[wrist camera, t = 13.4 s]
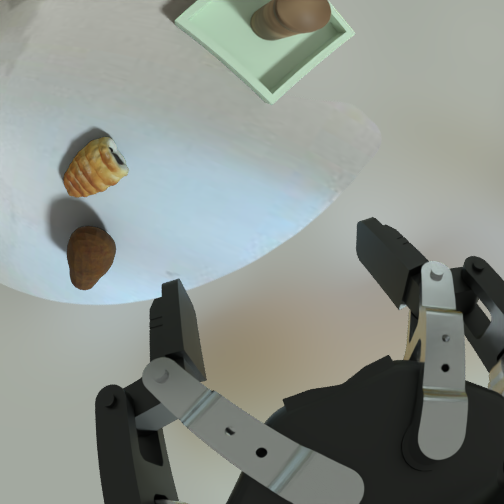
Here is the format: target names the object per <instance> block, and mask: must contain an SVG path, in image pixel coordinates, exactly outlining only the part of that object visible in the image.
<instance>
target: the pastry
mask: <svg viewBox="0 0 504 504" xmlns="http://www.w3.org/2000/svg"><path fill="white" fill-rule="evenodd" d="M128 171H129V169H128V167H127V165H126V161H125V159H124V157H123V156H122V155H121V153H120V152H119V151H118V150H117V146H116V144H115V142H114V141H113V140H112V139H111V138H109V137H102V138H99V139H96V140H92V141H90V142H89V143H88V144H87V145H86V146H85V147H84V148H83V149H82V150H81V151H79V152H78V154H77V155H76V156H75V158H74V159H73V161H72V163H71V164H70V166H69V168H68V169H67V171H66V172H65V174H64V179H63V180H64V185H65V188H66V189H67V192H68V194H69V195H70V196H74V197H82V196H83V197H87V196H89V195H93V194H96V193H98V192H103V191H105V190H106V189H107V188H108V187H110V186H113V185H115V184H117V183H118V182H119V180H120V179H121V178H123V177H124V176H127V174H128Z"/></svg>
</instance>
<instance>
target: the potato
mask: <svg viewBox="0 0 504 504" xmlns="http://www.w3.org/2000/svg"><path fill="white" fill-rule="evenodd" d="M115 253H116V245H115V242H114V240H113V239H112V237H111V236H110V235H109V234H108V233H106V232H105V231H103V230H102V229H100V228H98V227H92V226H85V227H80V228H78V229H76V230H75V231H74V232H73V233H72V235H71V237H70V239H69V242H68V246H67V260H68V264H69V268H70V278H71V282H72V284H73V285H74V286H75V287H76V288H78V289H80V290H88V289H91V288H92V287H93V286H94V285H95V284H96V283H97V281H98V280H99V279H100V278H101V277H102V276H103V275H104V274H106V272H107V271H108V270H109V268H110V267H111V265H112V263H113V260H114V257H115Z"/></svg>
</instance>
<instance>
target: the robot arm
mask: <svg viewBox="0 0 504 504" xmlns="http://www.w3.org/2000/svg"><path fill="white" fill-rule="evenodd" d="M356 251H357V255H358V258H359V260H360V261H361V263H362V264H363V265H364V266H365V268H366V269H367V270H368V271H369V272H370V274H371V275H372V276H373V278H374V279H375V280H376V281H377V283H378V284H379V285H380V286H381V288H382V289H383V290H384V291H385V293H386V294H387V295H388V296H389V298H390V299H391V300H392V302H393V303H394V304H395V306H396V307H397V308H398V309H399V310H400V309H402V308H404V307H406V306H408V307H409V309H410V310H409V315H408V330H407V344H406V351H405V355H404V358H403V360H395V361H392V359H391V357H390V356H389V355H387V356H385V357H383V358H381V359H379V360H377V361H375V362H373V363H371V364H369V365H367V366H365V367H364V368H362V369H361V370H360V371H359V372H357V373H356V374H355V375H354V376H353V377H351V378H350V379H348V380H347V381H346V382H345V383H343V384H341V385H336V386H330V387H323V388H316V389H310V390H307V391H305V392H302V393H299V394H297V395H294V396H291V397H288V398H285V399H283V402H284V405H285V406H284V407H282V408H280V409H279V410H277V411H276V412H275V413H273V414H272V415H271V417H269V418H268V420H267V421H266V422H265V423H262V422H260V421H259V420H257V419H256V418H254V417H253V416H251V415H250V414H248V413H247V412H245V411H243V410H242V409H241V408H239V407H238V406H236V405H235V404H233V403H232V402H230V401H229V400H228V399H226V398H225V397H223V396H222V395H221V394H219V393H217V392H216V391H211V390H210V389H208V388H207V387H206V386H204V385H203V384H202V383H200V382H202V381H206V380H207V379H206V374H205V368H204V363H203V357H202V352H201V345H200V339H199V333H198V327H197V319H196V314H195V310H194V307H193V305H192V302H191V300H190V298H189V296H188V294H187V293H186V291H185V289H184V287H183V285H182V283H181V281H180V279H176V280H173V281H170V282H166V283H163V284H162V297H160V298H156V299H154V301H153V303H152V306H151V308H150V363H149V364H148V365H147V366H146V367H145V369H144V371H143V375H142V377H141V378H140V379H139V380H137V381H136V382H134V383H132V384H130V385H129V386H127V387H125V388H123V389H122V388H121V387H120V386H118V385H108V386H106V387H104V388H103V389H101V391H100V392H99V393H98V395H97V397H96V401H95V415H96V437H97V450H98V460H99V470H100V478H101V485H102V491H103V497H104V503H105V504H187V503H185V502H181V501H179V500H178V497H177V492H176V489H175V484H174V480H173V476H172V472H171V468H170V464H169V459H168V454H167V450H166V445H165V440H164V435H163V429H162V427H164V426H166V425H168V424H170V423H171V422H173V421H175V420H177V419H179V420H180V421H181V422H182V423H183V424H184V425H185V426H186V427H187V428H188V429H189V430H190V431H191V432H193V433H194V434H195V435H196V436H197V437H199V438H200V439H201V440H202V441H203V442H205V443H206V444H207V445H208V446H210V447H211V448H212V449H213V450H215V451H216V452H217V453H219V454H220V455H221V456H222V457H224V458H225V459H226V460H228V461H229V462H230V463H232V464H233V465H235V466H236V467H237V468H239V469H240V470H242V472H241V474H240V476H239V478H238V481H237V482H236V485H235V487H234V489H233V491H232V493H231V495H230V497H229V499H228V501H227V503H226V504H504V281H503V280H502V278H501V277H500V276H499V275H498V274H497V273H496V272H495V271H494V270H493V268H492V267H491V266H490V265H489V264H488V263H487V262H486V261H485V260H483V259H481V258H479V257H476V256H471V257H468V258H467V259H466V260H465V262H464V265H463V267H458V268H451V269H449V268H448V267H447V266H446V265H444V264H443V263H440V262H436V261H430V262H429V261H428V260H427V259H426V258H425V257H424V256H423V255H422V254H421V253H420V252H419V251H418V250H417V249H416V248H415V247H414V246H413V245H412V244H411V243H409V242H408V240H407V239H406V238H405V237H404V238H403V236H402V235H401V234H400V233H399V232H398V231H397V230H396V229H394V228H392V227H390V226H388V225H382V224H381V223H380V222H379V221H378V220H377V219H376V218H373V217H372V218H369V219H366V220H362V221H359V222H358V224H357V242H356ZM479 299H480V300H481V301H482V303H483V304H484V305H485V306H486V307H487V309H488V310H489V312H490V313H491V316H492V320H491V322H490V320H489V319H488V317H487V316H486V315H485V313H484V312H483V311H482V310H481V308H480V307H479V306H478V304H477V302H478V300H479ZM464 335H465V336H466V338H467V339H468V341H469V342H470V344H471V345H472V347H473V348H474V350H475V351H476V353H477V354H478V356H479V358H480V359H481V361H482V362H483V364H484V366H485V367H486V369H487V371H488V372H489V381H490V382H489V383H488V388H485V387H482V386H479V385H476V384H474V383H471V382H469V381H466V380H465V339H464Z"/></svg>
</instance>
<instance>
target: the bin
mask: <svg viewBox="0 0 504 504" xmlns="http://www.w3.org/2000/svg"><path fill="white" fill-rule="evenodd" d="M270 1H271V0H197V1H196V2H195V3H194V4H193V5H191V6H190V7H189V8H188V9H187V10H186V11H185V12H183V13H182V14H181V15H180V16H179V17H178V18H177V19H176V20H175V25H176V26H177V27H179V28H180V29H181V30H183V31H184V32H185V33H187V34H188V35H189V36H190V37H192V38H193V39H194V40H195V41H197V42H198V43H199V44H200V45H202V46H203V47H204V48H205V49H207V50H208V51H209V52H210V53H211V54H213V55H214V56H215V57H216V58H217V59H218V60H220V61H221V62H222V63H223V64H224V65H225V66H227V67H228V68H229V69H230V70H231V71H232V72H233V73H234V74H236V75H237V76H238V77H239V78H240V79H241V80H242V81H243V82H244V83H245V84H246V85H248V86H249V87H250V88H251V89H252V90H253V91H254V92H255V93H256V94H257V95H258V96H259V97H260V98H261V99H262V100H263V101H264V102H265V103H268V104H271V105H273V104H274V103H275V102H276V101H277V100H278V99H279V98H280V97H281V96H282V95H284V94H285V93H286V92H287V91H288V90H289V89H290V88H291V87H292V86H293V85H294V84H295V83H297V82H298V81H299V80H300V79H301V78H302V77H303V76H305V75H306V74H307V73H308V72H309V71H310V70H312V69H313V68H314V67H315V66H316V65H317V64H319V63H320V62H321V61H322V60H323V59H325V58H326V57H327V56H328V55H329V54H331V53H332V52H333V51H334V50H335V49H337V48H338V47H339V46H341V45H342V44H343V43H344V42H346V41H347V40H348V39H349V38H351V37H352V36H353V35H355V33H354V31H353V30H352V29H351V27H350V26H349V25H348V23H347V22H346V21H345V20H344V19H343V17H342V16H341V15H340V14H339V13H338V11H337V10H336V9H335V8H334V7H333V6H332V4H331V3H330V2H329V1H328V2H329V4H330V7H331V17H330V20H329V22H328V23H327V24H326V25H325V26H324V27H323V28H321V29H319V30H316V31H314V32H310V33H303V34H297V35H293V36H290V37H286V38H282V39H279V40H274V41H268V40H264V39H262V38H260V37H258V36H257V35H256V34H255V33H254V32H253V30H252V28H251V25H250V20H251V17H252V15H253V14H254V12H255V11H257V10H258V9H259V8H261V7H262V6H264V5H265V4H267V3H268V2H270Z"/></svg>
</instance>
